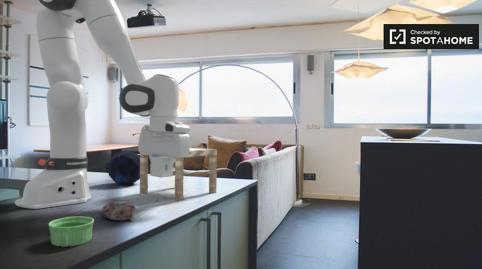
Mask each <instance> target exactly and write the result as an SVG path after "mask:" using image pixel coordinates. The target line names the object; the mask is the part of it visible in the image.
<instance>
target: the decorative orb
mask: <svg viewBox="0 0 482 269" xmlns="http://www.w3.org/2000/svg"><path fill="white" fill-rule="evenodd" d="M107 171H108V176H109V177H110V179H111V180H112V181H113V182H114V183H115V184H117V185H121V186H128V185H133V184H135V183H136V182H138V181H140V154H138V153H136V152H132V151H130V150H123V151H122V150H121V151H119V152H117V153H116V154H115V155H112V156H111V158H110V160H109V162H108V164H107Z"/></svg>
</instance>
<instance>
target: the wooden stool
mask: <svg viewBox="0 0 482 269" xmlns="http://www.w3.org/2000/svg"><path fill="white" fill-rule="evenodd" d="M193 148H194V149H206V150H193V151H189V155H188V156H187V157H176V160H175V162H174V201H177V202H181V201H183V200H184V168H185V167H184V166H185V165H184V163H185V161H184V160H185V159H184V158H195V157H196V158H197V157H203V156H204V157H205V156H209V158H208V159H209V161H208V162H209V163H208V164H209V165H208V166H209V168H208V169H209V170H208V173H209V174H208V193H210V194H215V193H217V182H218V181H217V178H218V177H217V176H218V174H217V172H218V169H217V167H218V165H217V164H218V150H217V148H216V149H215V148H205V147H204V148H200V147H193ZM160 156H164V155H157V157H160ZM139 157H140V179H139V194H140V195H147V194H148V193H149V190H148V188H149V186H148V185H149V154H147V153H140V152H139ZM164 157H168V156H164Z"/></svg>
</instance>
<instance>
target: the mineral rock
mask: <svg viewBox="0 0 482 269" xmlns="http://www.w3.org/2000/svg"><path fill="white" fill-rule="evenodd" d="M135 210H136V207H135V205H133V203H132V201H131V200H130V199H126V200H118V201H111V202H108V203H107V204H105V205H104V206H103V207H102V210H101V212H102V215H103V217H105V218H107V219H109V220H111V221H127V220H129V221H131V222H134V220H135V212H134V211H135Z"/></svg>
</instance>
